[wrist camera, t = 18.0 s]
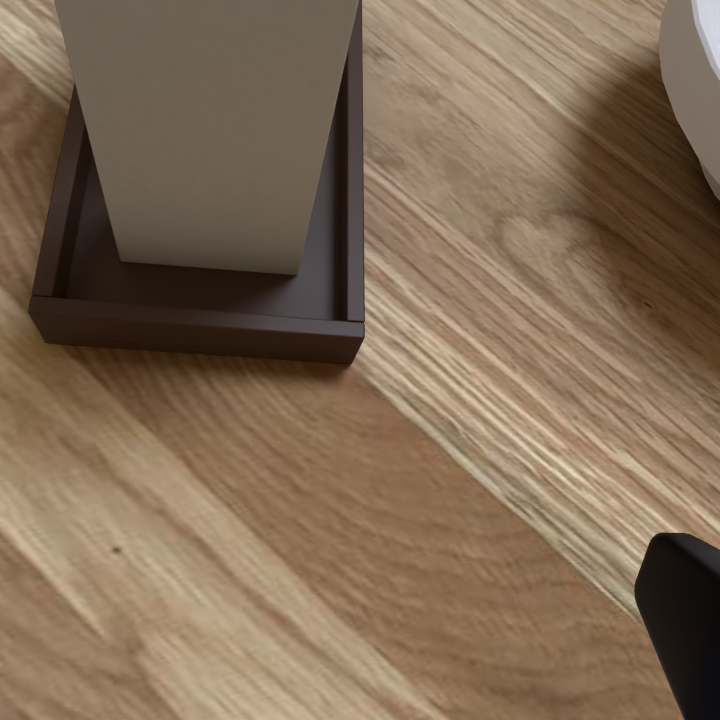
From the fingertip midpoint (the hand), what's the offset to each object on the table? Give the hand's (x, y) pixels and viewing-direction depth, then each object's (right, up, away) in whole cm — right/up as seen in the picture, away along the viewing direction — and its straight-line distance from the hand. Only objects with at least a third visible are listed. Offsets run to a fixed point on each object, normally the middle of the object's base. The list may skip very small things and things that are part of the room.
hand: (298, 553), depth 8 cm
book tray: (-5, +10, +18) cm, 21 cm away
